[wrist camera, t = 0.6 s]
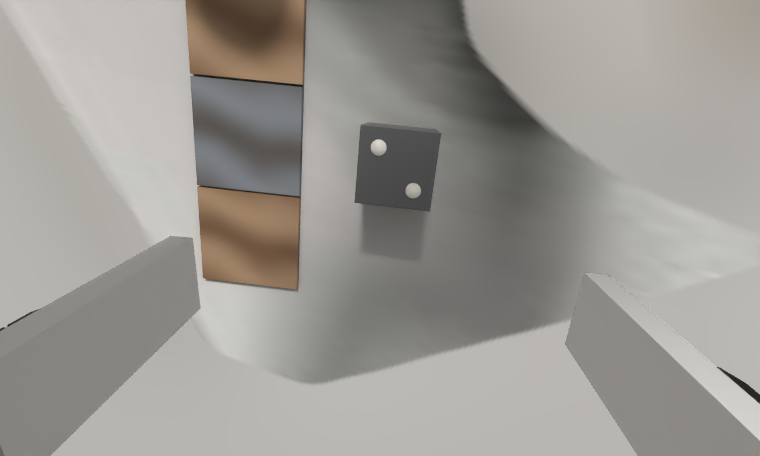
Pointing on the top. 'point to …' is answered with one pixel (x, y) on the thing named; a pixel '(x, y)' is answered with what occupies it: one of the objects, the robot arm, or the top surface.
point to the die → (396, 166)
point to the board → (248, 136)
